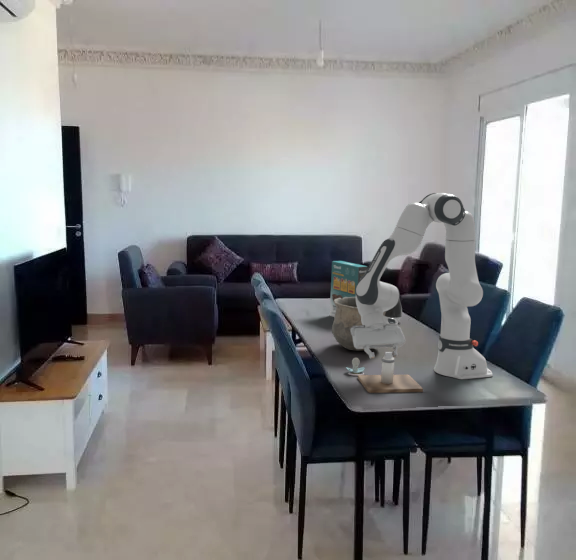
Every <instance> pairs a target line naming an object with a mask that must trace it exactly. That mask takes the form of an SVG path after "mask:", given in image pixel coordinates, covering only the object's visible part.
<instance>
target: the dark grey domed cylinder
mask: <svg viewBox="0 0 576 560" xmlns="http://www.w3.org/2000/svg"><path fill="white" fill-rule="evenodd" d="M385 316H386V317H388V318H392V319H396V320H397V321H398V323H399V322H400V321H401V319H402V317H403V308H402V303H401V299H400V298H399V302H398V303H397V305H396V306H395V307H393V308H392V309H390V310H388V311H386V313H385Z"/></svg>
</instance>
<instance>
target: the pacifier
mask: <svg viewBox="0 0 576 560" xmlns="http://www.w3.org/2000/svg"><path fill="white" fill-rule="evenodd" d="M360 363H361V361H360V359H359V357H353V358H352V360H351V365H352V368H350V367H348V366H347V367H345V368H346V370H347V371H348V373H347V375H349V376H353V377H358V375H365V373H364V371H365V369H366V368H365V367H364V366H362V367H359V365H360Z"/></svg>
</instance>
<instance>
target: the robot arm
mask: <svg viewBox="0 0 576 560" xmlns="http://www.w3.org/2000/svg"><path fill="white" fill-rule="evenodd" d="M433 222H435V223H443V225H444V227H445V228H444V229H445V243H444V244H445V245H444V246H445V247H444V249H445V250H444V251H445V252H444V259H445V263H446V265H447V268H448V269H447V270H448V272H445V273H442V274H441V275H439V276H438V278H437V280H436V283H435V288H436V290H437V291H436V292H437V293H438V299H439V305H440V312H441V319H440V320H441V322H440V323H441V324H440V335H439V336H438V342H437V344H438V345H437V346H438V347H437V348H438V353H437V358H436V362H435V364H434V368H433V371H434V372H435V373H437V374H439V375H442V376H446V377H451V378H454V379H458V380H468V379H470V380H471V379H481V378H490V377H493V372H492V370H490V369H489V368H488V364H487V360H486V358H485V357H484V355H483V354H481V353H480V352H479V351H478V350H477V349H475V348H474V347H478V346H479V342H478V341H477V340H475V339H474V340H473V339H472V338H470V335H471V334H470V333H471V321H472V319H471V316H470V314H469V309H468V307H474V306H475V307H476V306H477V305H478V304H479V303H480V302H481V301H482V298H483V296H484V290H483V287H482V286H481V284H480V281H479V276H478V270H477V266H476V224H475V223H476V222H475V217H474V215H473V214H472V213H471V212H470V211H468V210H466V209H465V207H464V204H463V202H462V200H461V199H460V197H458V196H457V195H455V194H452V193H447V192H433V193H429V194H428V195H425V196H424V197H423V198H422V200H420V201H419V202H411V203H410V202H409V203H408V204H407V205H406V206H405V208H404V210H403V211H402V213H401V214H400V216H399V218H398V220H397V222H396V225H395V226H394V230H393V232H392V233H391V235H390V236H389V237H388V238H387V239H385V240H384V241H382V243H381V244H380V246H379V248H378V249H377V251H376V252H375V254H374V256H373V258H372V260H371V262H370V264H369V265H368V268H367V271H366V273H365V274H364V276H363V277H362V278H361V280H360V281H359V282H358V284H357V286H356V290H355V292H356V305H357V309H358V312H359V314H360V315H361V322H362V325H360V326H353V327H352V328H351V329H350V331H351V334H352V336H353V344H354V347H355V348H356V349H364V352H365V353H366V355H368V357H369V359H375V357H376V355H375V352H374V351H373V352H372V350H371V349H369V348H372V349H383V348H386V349H387V348H388V349H389V348H392V350H393V351H391V352H392V357H393V358H397V357H398V356H399V353H398V349H399V348H401V347H403V346H404V344H405V343H406V337H405V334H404V332H403V330H402V328H401V326H399V322H398V321H397V320H396V319H392V318H388V317H386V316H383V312H385V311H388V310H390V309H392V308H393V307H395V306H396V305H397V303H398V302H399V299H400V296H401V295H400V290H399V288H398V287H397V286H395V285H393V284H391V283H388V282H384V281H381V277H382V276H383V274H384V272H385V270H386V268H387V267H388V265H389V263H390V262H391V261H392V260H393V259H395V258H397V257H400V256H407V255H411V254H414V253H415V252H416V251H417V250H418V249H419V247H420V246H421V244H422V241H423V239H424V236H425V235H426V234H425V233H426V232H427V228H428V227H429V226H430V224H431V223H433Z"/></svg>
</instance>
